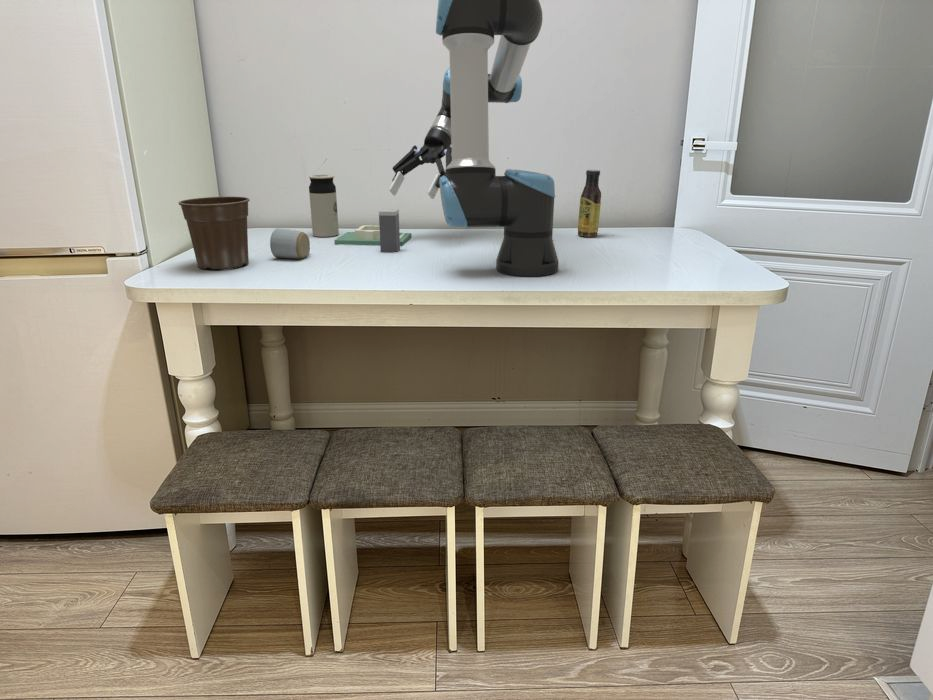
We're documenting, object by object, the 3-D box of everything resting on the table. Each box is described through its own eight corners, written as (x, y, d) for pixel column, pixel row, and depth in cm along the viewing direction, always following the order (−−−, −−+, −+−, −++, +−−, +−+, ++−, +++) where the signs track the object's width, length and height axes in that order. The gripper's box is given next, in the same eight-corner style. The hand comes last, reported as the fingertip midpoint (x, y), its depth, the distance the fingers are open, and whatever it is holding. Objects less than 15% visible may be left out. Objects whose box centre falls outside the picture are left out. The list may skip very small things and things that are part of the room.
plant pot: (179, 264, 163) (169, 199, 158) (241, 255, 173) (234, 194, 167) (201, 276, 152) (191, 206, 146) (267, 266, 161) (260, 200, 156)
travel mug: (308, 236, 199) (302, 176, 192) (320, 232, 206) (316, 174, 200) (331, 238, 196) (326, 177, 190) (343, 233, 204) (339, 174, 197)
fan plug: (396, 252, 177) (395, 211, 173) (380, 252, 177) (378, 211, 173) (400, 249, 181) (398, 209, 177) (384, 248, 181) (382, 209, 178)
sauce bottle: (573, 235, 201) (577, 169, 194) (590, 233, 204) (594, 168, 197) (585, 238, 196) (589, 171, 189) (602, 237, 198) (607, 170, 191)
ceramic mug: (299, 261, 166) (297, 231, 163) (270, 260, 168) (267, 230, 165) (317, 254, 176) (315, 225, 173) (290, 252, 177) (287, 224, 175)
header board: (402, 245, 185) (402, 232, 184) (334, 244, 187) (333, 231, 186) (411, 236, 198) (411, 224, 197) (347, 235, 200) (347, 223, 199)
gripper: (481, 146, 185) (452, 205, 179) (412, 144, 198) (383, 199, 192) (471, 127, 179) (441, 188, 173) (401, 126, 192) (370, 182, 186)
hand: (410, 194), depth 182 cm, fingers open, 13 cm apart
